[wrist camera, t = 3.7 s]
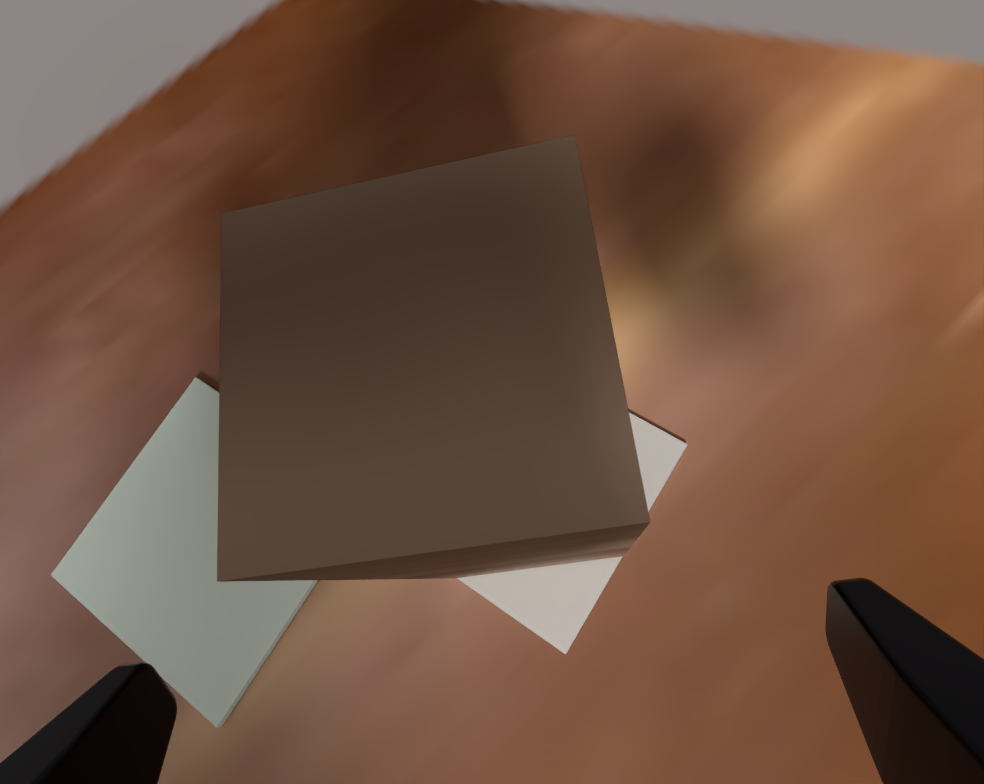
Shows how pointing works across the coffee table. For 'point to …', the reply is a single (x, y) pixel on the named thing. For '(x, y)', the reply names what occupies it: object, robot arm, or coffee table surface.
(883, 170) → the coffee table surface
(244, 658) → the pad
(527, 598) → the tile
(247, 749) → the coffee table surface
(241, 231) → the walnut block
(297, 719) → the coffee table surface
